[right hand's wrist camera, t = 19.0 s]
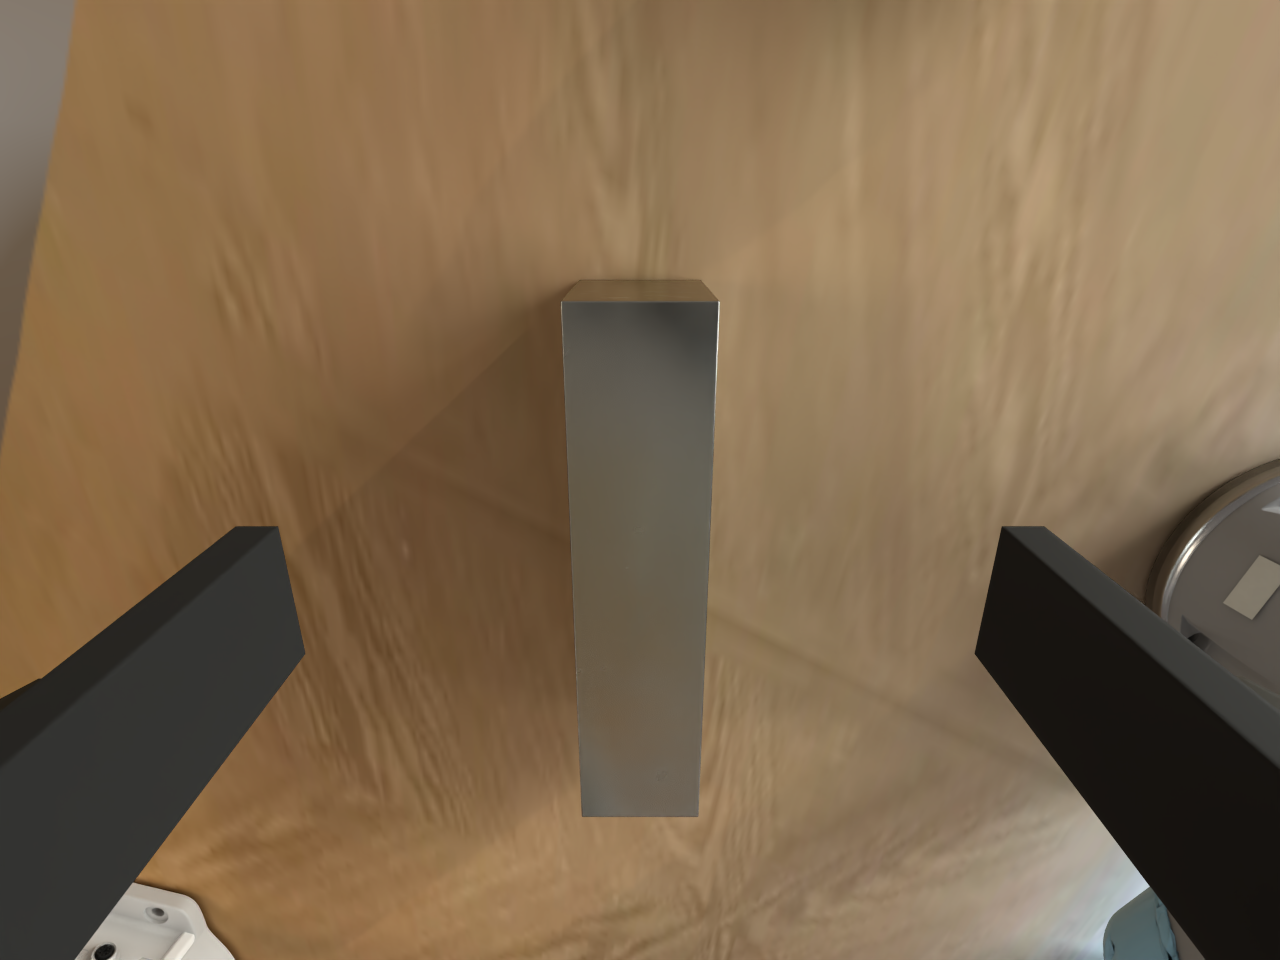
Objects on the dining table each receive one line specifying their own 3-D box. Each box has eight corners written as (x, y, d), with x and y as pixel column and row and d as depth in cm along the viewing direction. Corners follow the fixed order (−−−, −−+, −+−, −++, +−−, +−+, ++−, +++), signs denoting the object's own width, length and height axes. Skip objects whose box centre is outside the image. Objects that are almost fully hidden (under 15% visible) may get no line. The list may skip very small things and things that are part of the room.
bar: (578, 280, 33) (560, 300, 26) (701, 279, 33) (720, 300, 26) (592, 707, 43) (581, 817, 35) (688, 707, 43) (698, 817, 35)
